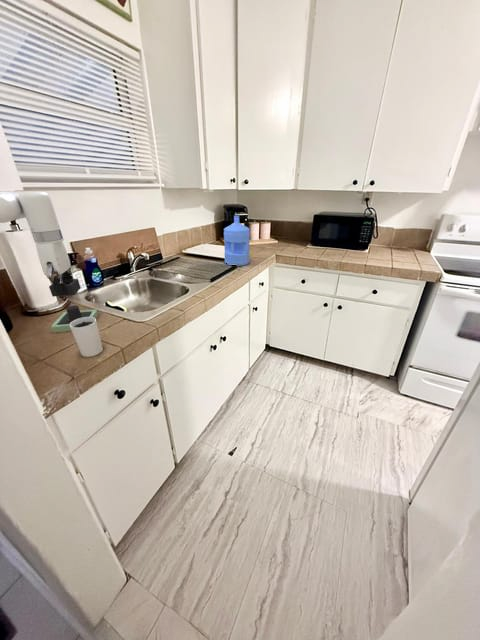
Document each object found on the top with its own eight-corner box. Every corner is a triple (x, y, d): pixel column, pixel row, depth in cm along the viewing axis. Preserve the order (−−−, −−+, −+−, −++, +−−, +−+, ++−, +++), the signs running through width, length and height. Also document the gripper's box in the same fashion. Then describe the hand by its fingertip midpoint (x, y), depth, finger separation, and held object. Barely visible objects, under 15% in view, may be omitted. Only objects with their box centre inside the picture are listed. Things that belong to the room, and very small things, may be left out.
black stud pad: (59, 327, 90) (54, 313, 87) (68, 316, 97) (63, 303, 94) (85, 324, 91) (81, 311, 89) (92, 314, 98) (88, 301, 96)
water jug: (230, 258, 173) (230, 213, 160) (252, 261, 168) (254, 215, 155) (220, 264, 161) (218, 216, 147) (243, 267, 155) (244, 217, 142)
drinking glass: (75, 352, 78) (64, 323, 73) (96, 342, 83) (88, 314, 78) (87, 360, 74) (76, 330, 70) (108, 349, 79) (100, 320, 75)
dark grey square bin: (52, 296, 85) (48, 286, 84) (60, 289, 91) (57, 280, 89) (74, 294, 86) (71, 285, 85) (80, 288, 92) (77, 278, 91)
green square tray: (52, 332, 88) (50, 327, 87) (65, 317, 98) (63, 312, 97) (89, 329, 90) (88, 323, 89) (98, 314, 100) (97, 309, 99)
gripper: (46, 232, 87) (64, 283, 95) (19, 242, 72) (43, 301, 80) (71, 231, 88) (86, 281, 97) (49, 241, 73) (69, 299, 82)
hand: (66, 290), depth 88 cm, fingers closed on dark grey square bin, 6 cm apart
